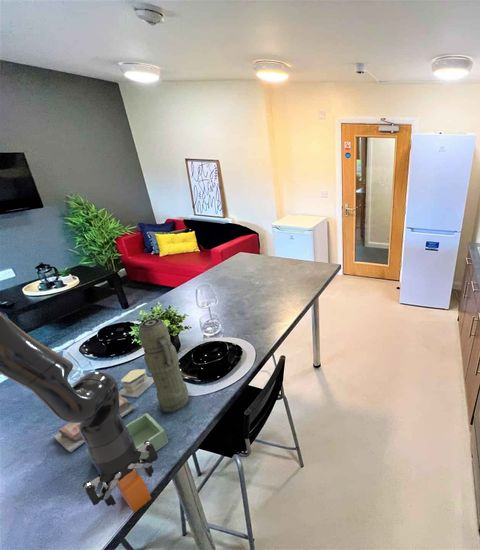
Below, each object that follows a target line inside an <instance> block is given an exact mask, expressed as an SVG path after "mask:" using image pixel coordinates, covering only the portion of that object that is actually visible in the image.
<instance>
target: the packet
mask: <svg viewBox="0 0 480 550" xmlns="http://www.w3.org/2000/svg"><path fill="white" fill-rule="evenodd" d="M116 487H117V488H118V491H119V493H120V494H121V497H122V498H123V500H124V501H125V502H126V504H127V506H129V508H130V509H131V510H132V512H133V514H135V513H137V511H138V510H140V509H141V508H142V507H144V505H146V504H147V503H148V502H149V501H151V500H152V497H151V495H150V492H149V489H148V487H147V485H146V483H145V481H144V479H143V477H142V476H141V475H140V474H139V472H138V471H137V470H136V469H133V471H132V472H131V473H129V474H127V475H126V476H125V477H124V478H122V479H121V480H120V481H119V480H118V481H117V484H116Z"/></svg>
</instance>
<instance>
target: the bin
mask: <svg viewBox="0 0 480 550" xmlns="http://www.w3.org/2000/svg"><path fill="white" fill-rule="evenodd" d="M125 426H126V427H127V429H128V430H129V432H130V434H131V436H132V439H133V442H134V444H135V447H136V448H137V449H139V448H140V447H142V446H143V445H144V442H145V441H146V440H149V441H150V442H151V443H152V445H153V446H154V448H155V451H156V452H157V451H159V450H160V449H162V448H163V447H165V446H166V445H167V444H168V443H169V439H168V436H167V433H166V431H165V429H164V428H163V427H162V426H161V425H160V424H159V423H158V422H157V421H156V420H155V419H154V418H153V417H152V416H151V415H150V414H149V413H148V412H145V413H143V414H142V415H141V416H139V417H137V418H136V419H134V420H132V421H130V422H129V423H127V424H125ZM85 452H86V454H87V455H88V457H89V459H90V461H91V462H92V464H93V466H94V467H95V468H96V466H95V464H94V463H93V461H92V459H91V457H90V455H89V453H88V450H87V449H86V450H85ZM148 456H149V455H148V453H145V452H142V453H141V456H140V458H147V457H148Z"/></svg>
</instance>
